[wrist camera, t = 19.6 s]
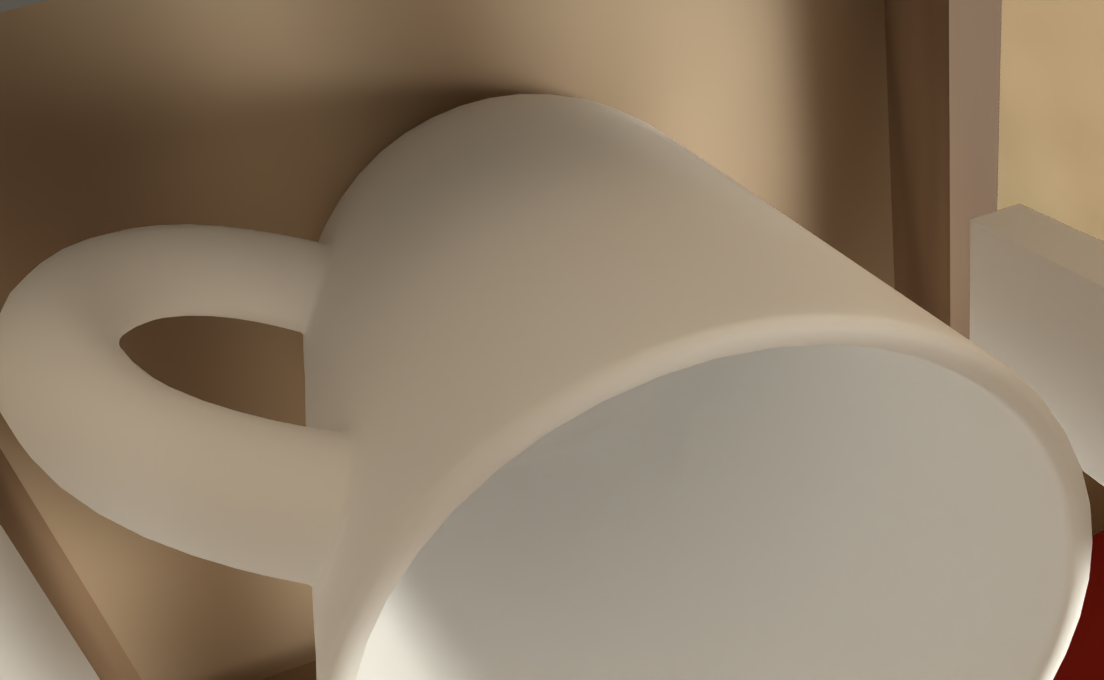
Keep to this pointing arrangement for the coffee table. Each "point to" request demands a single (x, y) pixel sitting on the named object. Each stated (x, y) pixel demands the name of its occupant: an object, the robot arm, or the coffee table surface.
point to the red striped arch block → (1088, 626)
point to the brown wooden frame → (372, 125)
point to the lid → (16, 4)
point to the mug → (571, 425)
